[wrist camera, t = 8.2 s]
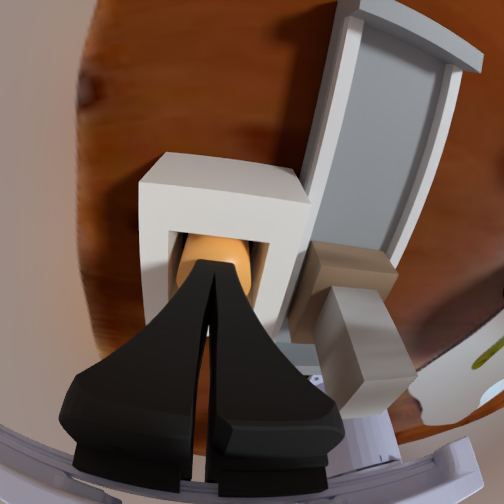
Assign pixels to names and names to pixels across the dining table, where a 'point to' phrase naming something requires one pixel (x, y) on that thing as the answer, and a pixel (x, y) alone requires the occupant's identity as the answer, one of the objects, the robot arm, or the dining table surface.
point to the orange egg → (216, 256)
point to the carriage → (351, 327)
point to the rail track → (375, 136)
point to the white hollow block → (220, 223)
